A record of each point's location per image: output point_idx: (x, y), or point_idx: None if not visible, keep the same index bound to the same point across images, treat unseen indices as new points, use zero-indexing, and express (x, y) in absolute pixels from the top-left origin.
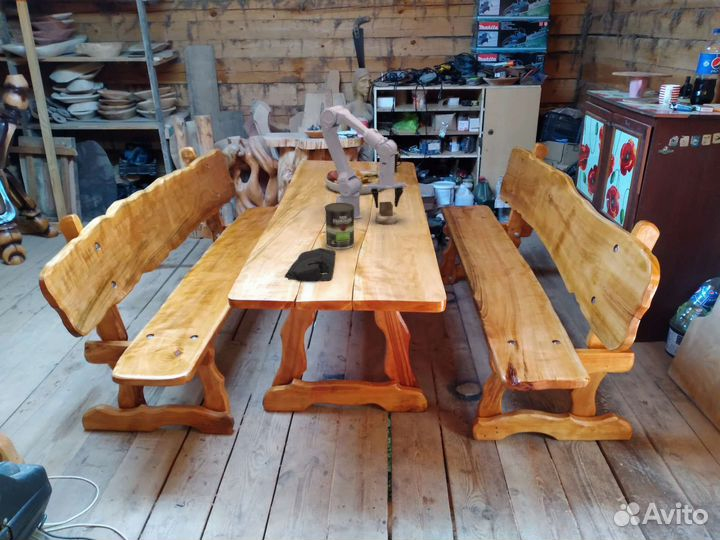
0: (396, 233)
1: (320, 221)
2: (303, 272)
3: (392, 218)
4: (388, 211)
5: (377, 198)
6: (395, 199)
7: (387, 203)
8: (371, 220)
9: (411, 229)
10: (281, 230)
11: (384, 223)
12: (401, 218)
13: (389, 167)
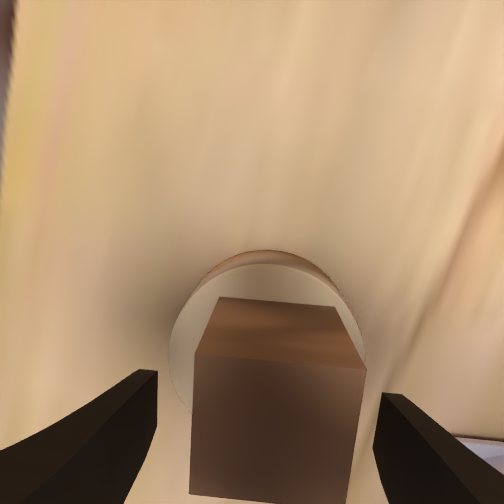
0: (263, 17)
1: None
2: None
3: (229, 268)
4: (261, 321)
5: (486, 494)
6: (114, 477)
7: (252, 433)
8: (372, 382)
9: (108, 93)
10: None
11: (304, 261)
12: (131, 365)
13: None
